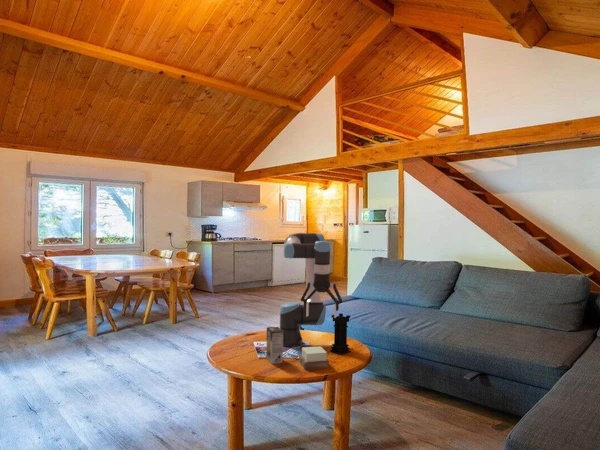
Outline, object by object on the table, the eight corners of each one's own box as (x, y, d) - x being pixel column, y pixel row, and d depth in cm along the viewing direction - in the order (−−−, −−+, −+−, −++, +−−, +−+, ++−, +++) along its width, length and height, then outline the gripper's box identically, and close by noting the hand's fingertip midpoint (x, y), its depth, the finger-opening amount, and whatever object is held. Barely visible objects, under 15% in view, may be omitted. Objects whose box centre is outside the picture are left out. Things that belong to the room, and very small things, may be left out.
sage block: (301, 355, 207) (301, 347, 207) (320, 354, 209) (320, 346, 209) (306, 362, 197) (306, 353, 197) (326, 360, 200) (326, 352, 199)
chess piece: (340, 355, 219) (340, 317, 219) (329, 351, 225) (330, 315, 225) (350, 352, 224) (351, 315, 224) (340, 348, 230) (340, 313, 230)
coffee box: (265, 358, 212) (266, 327, 212) (277, 357, 214) (278, 326, 214) (270, 364, 203) (271, 331, 203) (283, 362, 206) (283, 330, 205)
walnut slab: (298, 362, 208) (299, 354, 208) (321, 361, 211) (321, 353, 211) (304, 371, 196) (304, 362, 196) (328, 369, 199) (328, 361, 199)
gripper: (295, 272, 196) (294, 316, 197) (347, 275, 192) (346, 319, 193) (297, 270, 204) (297, 313, 204) (348, 272, 200) (347, 316, 200)
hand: (321, 316), depth 199 cm, fingers open, 13 cm apart
